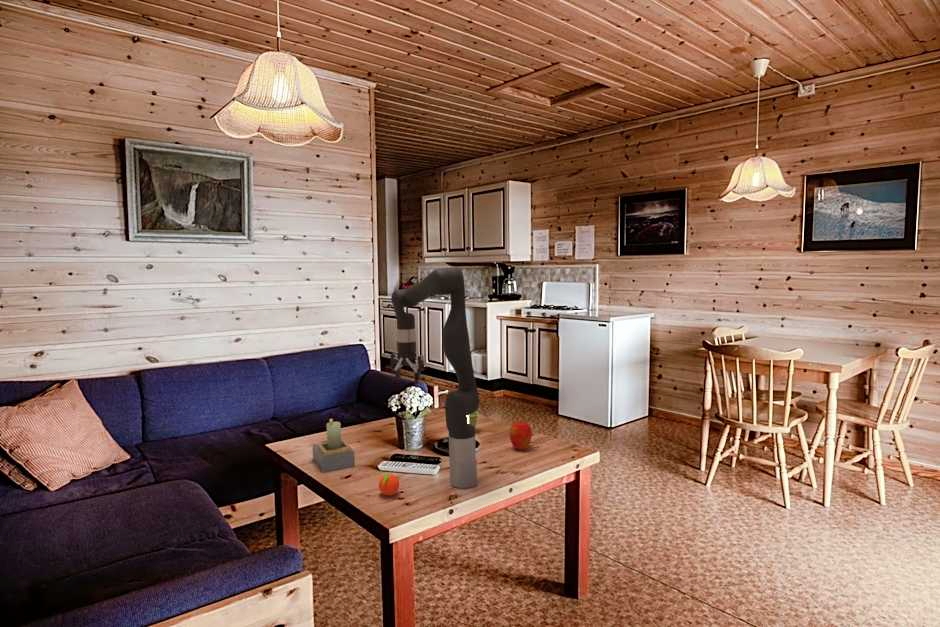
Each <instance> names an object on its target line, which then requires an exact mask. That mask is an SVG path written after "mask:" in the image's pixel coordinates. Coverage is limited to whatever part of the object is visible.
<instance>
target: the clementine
mask: <svg viewBox="0 0 940 627" xmlns="http://www.w3.org/2000/svg"><path fill="white" fill-rule="evenodd" d="M378 489H379V491H380V493H381V494H382V495H385V496H389V497H390V496H393V495H395V494H396V493H397V492H398V491H399V489H400V480H399V478H398V477H397V476H396V475H395V474H392V473H387V474H384V475H382V476H381V478H379V481H378Z"/></svg>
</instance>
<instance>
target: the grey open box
mask: <svg viewBox="0 0 940 627" xmlns="http://www.w3.org/2000/svg"><path fill="white" fill-rule="evenodd" d="M341 446H342V448H338V449H333V450H328V445H327V441H326V442H321V443H315V444H314V443H313V444H312V447H311V449H312V460H313V461H314V463H315V464H316V465H317V467H318V468H319V469H320V471H321V472H322V473H323V474H325V473H329V472H333V471H339V470H344V469H349V468H354V467H356V463H355V461H356V460H355V450H354V449H352V447H351V446H350V445H349V444H348V443H347V442H346V441H345V440H344V439H341Z"/></svg>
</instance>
